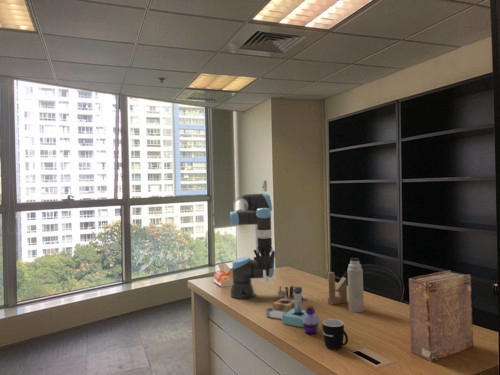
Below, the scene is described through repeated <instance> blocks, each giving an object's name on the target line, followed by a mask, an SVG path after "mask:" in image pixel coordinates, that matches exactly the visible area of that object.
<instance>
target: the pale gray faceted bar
mask: <svg viewBox="0 0 500 375" xmlns="http://www.w3.org/2000/svg"><path fill="white" fill-rule="evenodd" d="M265 311H266V313H265V314H266V318H273V319H278V320H282V315H284V314H285V313H286V312H283V311H278V310H273V307H268V308H267V309H266V310H265Z"/></svg>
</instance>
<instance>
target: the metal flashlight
mask: <svg viewBox="0 0 500 375" xmlns="http://www.w3.org/2000/svg"><path fill="white" fill-rule="evenodd" d="M293 292H294V293H293V297H294V298H293V300H294V304H295V315H298V316H301V315H302V310H303V302H302V301H303V300H302V299H303V298H302V297H301V295H302V293H303V287H301V286H294V287H293Z"/></svg>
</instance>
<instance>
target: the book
mask: <svg viewBox="0 0 500 375" xmlns="http://www.w3.org/2000/svg"><path fill="white" fill-rule="evenodd" d="M408 292H409V293H408V294H409V320H410V321H409V322H410V323H409V325H410V327H409V328H410V350H411V351H410V352H411V354H414V355H416V356H418V357H420V358H422V359H424V358H425V360H426V359H427V361H429V362H431V361H432V362H434V361H433V360H435V361H437V360H436V359H438V360H441V359H443V357H444V358H446V356H447V357H449V355H450V356H452V354H453V355H456V354H459V353H462V352H465V351H468V350H470V348H471V349H473V348H474V331H473V330H474V328H473V326H474V325H473V305H472V304H473V303H472V276H471V274H461V273H455V272H452V271H451V269H450V270H445V271H438V272H434V273H430V274H425V275H418V276H414V277H410V278H408ZM467 349H468V350H467ZM461 351H462V352H461ZM458 352H459V353H458ZM455 353H456V354H455ZM440 358H441V359H440Z"/></svg>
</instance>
